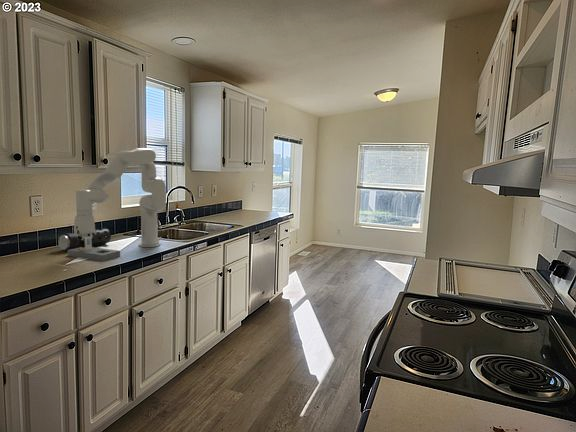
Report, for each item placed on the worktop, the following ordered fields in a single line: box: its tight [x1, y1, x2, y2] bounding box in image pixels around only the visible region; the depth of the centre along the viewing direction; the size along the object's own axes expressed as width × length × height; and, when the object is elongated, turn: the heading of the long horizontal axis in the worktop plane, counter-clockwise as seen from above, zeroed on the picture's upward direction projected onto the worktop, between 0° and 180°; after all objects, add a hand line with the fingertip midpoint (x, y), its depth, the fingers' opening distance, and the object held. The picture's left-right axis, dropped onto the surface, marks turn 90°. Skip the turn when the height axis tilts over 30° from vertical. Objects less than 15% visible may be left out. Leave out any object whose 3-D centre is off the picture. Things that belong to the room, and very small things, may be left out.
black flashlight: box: [57, 228, 112, 251], centre depth 226 cm, size 10×28×10 cm, turn 154°
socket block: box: [66, 246, 121, 262], centre depth 206 cm, size 12×24×4 cm, turn 70°
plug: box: [80, 236, 93, 251], centre depth 208 cm, size 4×5×9 cm
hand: (85, 246), depth 208 cm, fingers closed on plug, 4 cm apart
